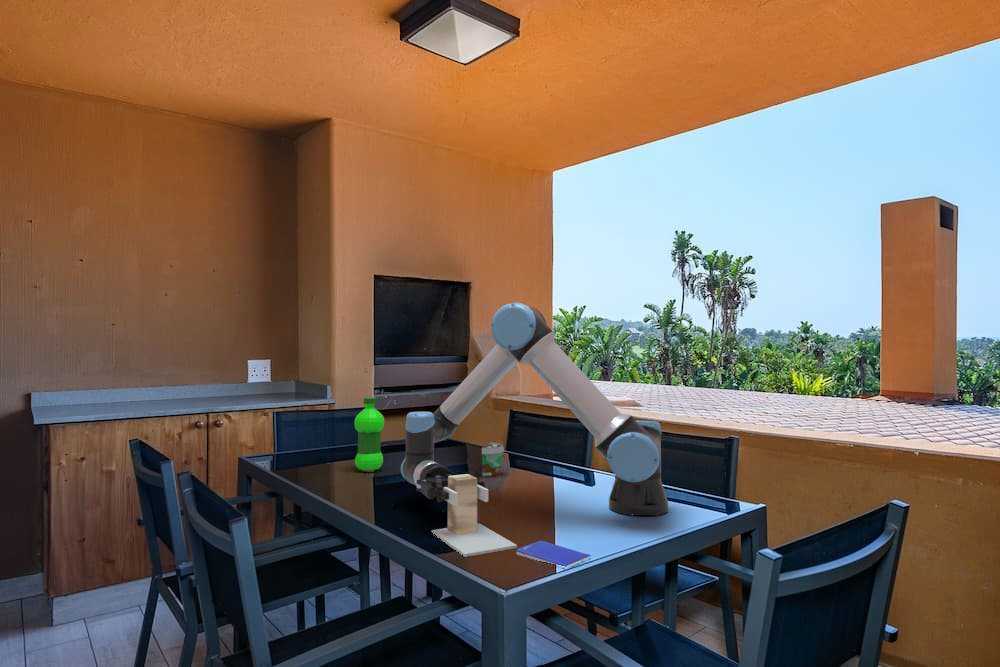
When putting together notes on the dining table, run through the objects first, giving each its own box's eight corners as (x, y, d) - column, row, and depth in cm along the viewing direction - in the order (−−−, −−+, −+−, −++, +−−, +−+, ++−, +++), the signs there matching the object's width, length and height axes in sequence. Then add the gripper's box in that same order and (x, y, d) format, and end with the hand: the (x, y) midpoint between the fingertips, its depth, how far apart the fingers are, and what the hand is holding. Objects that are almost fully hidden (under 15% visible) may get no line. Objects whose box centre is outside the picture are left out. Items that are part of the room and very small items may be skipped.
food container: (500, 479, 191) (500, 448, 192) (481, 478, 193) (481, 447, 193) (507, 472, 203) (507, 442, 204) (489, 471, 205) (489, 442, 205)
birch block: (447, 529, 135) (447, 476, 136) (467, 526, 138) (467, 474, 138) (456, 535, 131) (456, 480, 131) (476, 532, 133) (477, 478, 134)
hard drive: (516, 549, 120) (565, 564, 112) (541, 539, 126) (590, 553, 118) (516, 556, 120) (565, 572, 112) (541, 547, 126) (590, 561, 118)
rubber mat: (431, 533, 134) (431, 530, 134) (479, 525, 140) (479, 523, 140) (464, 557, 118) (464, 554, 118) (516, 548, 124) (516, 545, 124)
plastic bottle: (347, 472, 202) (348, 398, 203) (367, 467, 212) (367, 396, 212) (371, 475, 198) (372, 399, 199) (390, 469, 207) (390, 397, 208)
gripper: (468, 488, 155) (511, 509, 134) (395, 497, 146) (429, 520, 125) (468, 459, 155) (511, 476, 135) (395, 466, 146) (430, 484, 125)
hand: (471, 497), depth 130 cm, fingers open, 7 cm apart
